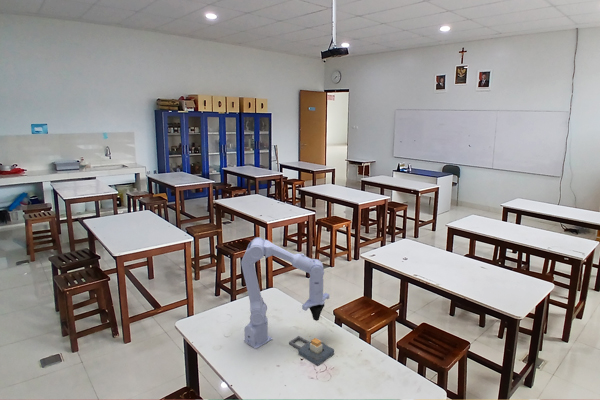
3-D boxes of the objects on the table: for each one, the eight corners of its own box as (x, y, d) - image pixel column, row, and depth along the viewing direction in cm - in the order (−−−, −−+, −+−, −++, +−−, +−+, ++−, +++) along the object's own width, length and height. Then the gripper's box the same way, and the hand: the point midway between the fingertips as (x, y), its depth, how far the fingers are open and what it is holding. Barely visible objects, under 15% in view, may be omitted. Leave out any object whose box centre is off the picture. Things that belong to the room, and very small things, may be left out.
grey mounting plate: (300, 351, 154) (300, 348, 154) (289, 344, 159) (289, 341, 158) (310, 345, 158) (310, 342, 158) (298, 338, 163) (298, 335, 162)
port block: (317, 365, 145) (317, 361, 145) (298, 354, 152) (298, 349, 152) (333, 353, 153) (334, 349, 152) (315, 343, 159) (315, 339, 159)
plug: (317, 358, 150) (317, 344, 149) (309, 353, 153) (309, 340, 151) (322, 354, 152) (322, 341, 151) (314, 350, 155) (314, 337, 153)
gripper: (311, 299, 149) (311, 330, 152) (335, 287, 159) (334, 316, 162) (298, 293, 154) (298, 323, 157) (322, 281, 164) (321, 310, 167)
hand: (315, 319), depth 160 cm, fingers closed
